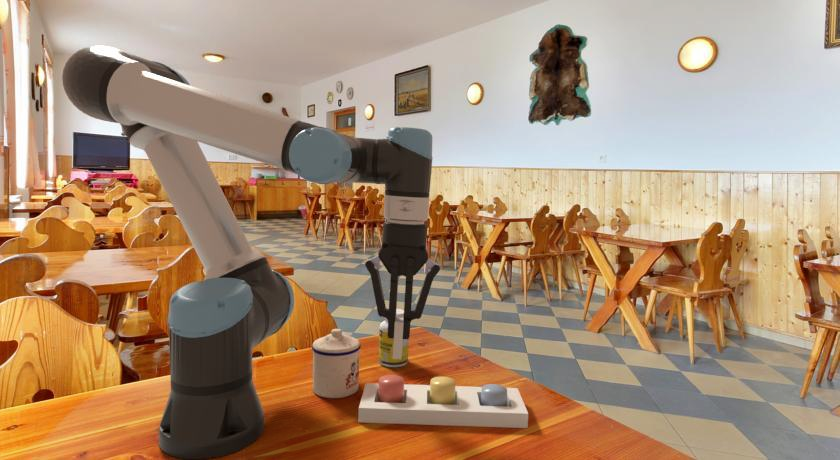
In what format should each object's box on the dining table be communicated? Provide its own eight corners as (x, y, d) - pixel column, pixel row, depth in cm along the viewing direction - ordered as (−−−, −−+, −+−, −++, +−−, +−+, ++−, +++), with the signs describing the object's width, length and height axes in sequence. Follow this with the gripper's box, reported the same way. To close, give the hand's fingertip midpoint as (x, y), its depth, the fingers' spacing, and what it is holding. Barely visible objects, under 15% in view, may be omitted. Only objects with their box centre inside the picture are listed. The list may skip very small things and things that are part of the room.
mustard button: (429, 406, 85) (430, 386, 85) (429, 395, 89) (430, 376, 89) (455, 407, 85) (456, 387, 85) (454, 396, 89) (454, 376, 89)
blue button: (482, 414, 85) (483, 394, 85) (479, 402, 89) (480, 383, 89) (508, 415, 85) (509, 395, 85) (504, 403, 89) (505, 384, 89)
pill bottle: (375, 358, 112) (376, 308, 110) (403, 356, 113) (404, 306, 112) (382, 369, 105) (383, 316, 104) (411, 367, 107) (413, 314, 106)
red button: (377, 404, 85) (377, 384, 85) (379, 393, 90) (380, 374, 89) (402, 405, 85) (403, 385, 85) (404, 394, 90) (404, 375, 89)
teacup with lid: (355, 400, 91) (356, 338, 89) (306, 398, 91) (306, 336, 90) (365, 374, 102) (366, 319, 101) (321, 373, 103) (321, 317, 101)
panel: (358, 422, 83) (358, 407, 82) (365, 395, 93) (365, 382, 92) (527, 428, 82) (528, 413, 82) (516, 401, 92) (517, 388, 92)
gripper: (364, 220, 80) (357, 361, 83) (445, 226, 80) (435, 366, 83) (369, 217, 88) (362, 346, 90) (443, 221, 88) (434, 351, 90)
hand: (397, 356), depth 87 cm, fingers closed
